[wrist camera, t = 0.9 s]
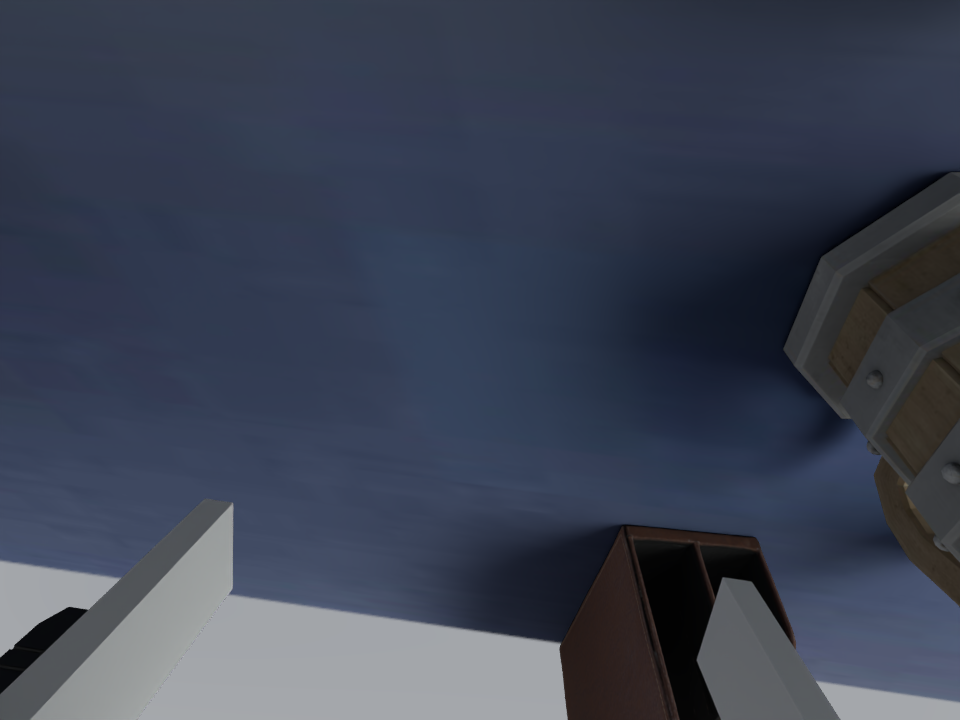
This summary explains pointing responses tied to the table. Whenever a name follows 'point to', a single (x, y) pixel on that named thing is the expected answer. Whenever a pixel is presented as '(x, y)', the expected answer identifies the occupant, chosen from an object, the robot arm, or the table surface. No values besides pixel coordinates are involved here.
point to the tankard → (897, 365)
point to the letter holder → (655, 624)
